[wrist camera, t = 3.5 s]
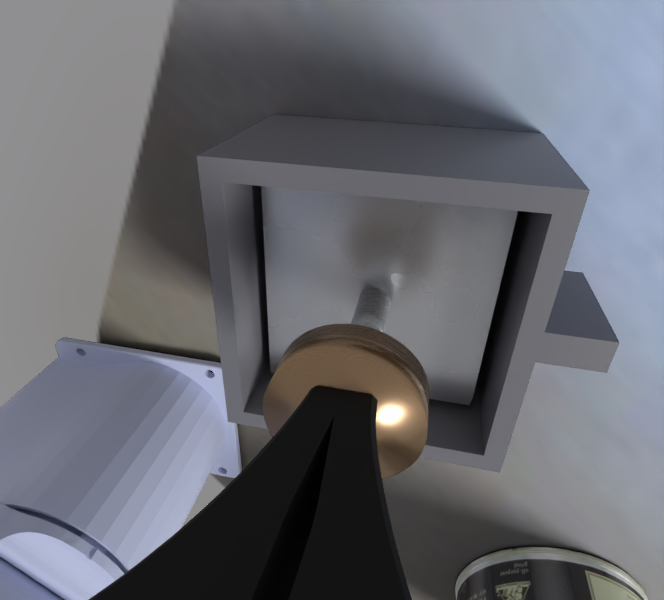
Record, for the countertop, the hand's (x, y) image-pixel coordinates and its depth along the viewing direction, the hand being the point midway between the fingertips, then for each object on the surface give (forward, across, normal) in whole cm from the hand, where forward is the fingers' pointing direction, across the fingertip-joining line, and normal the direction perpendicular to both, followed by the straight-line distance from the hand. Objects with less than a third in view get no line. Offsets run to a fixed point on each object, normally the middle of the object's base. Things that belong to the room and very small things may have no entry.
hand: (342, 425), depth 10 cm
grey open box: (+10, 0, 0) cm, 10 cm away
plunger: (+6, 0, 0) cm, 6 cm away
